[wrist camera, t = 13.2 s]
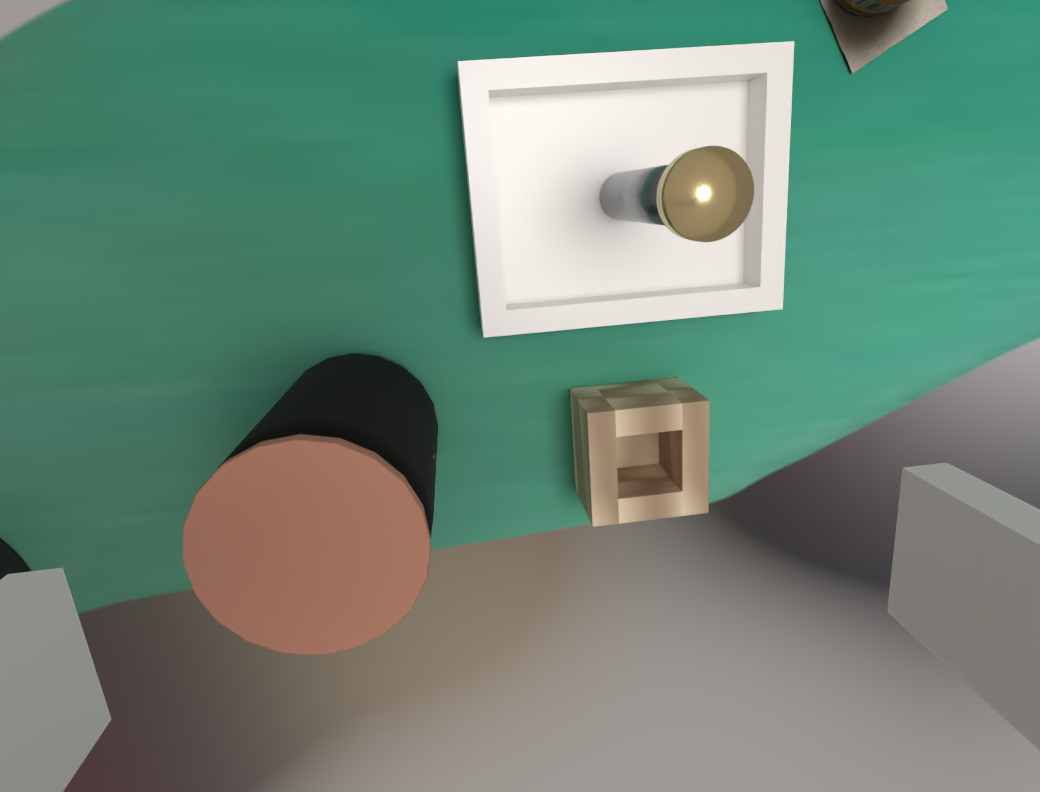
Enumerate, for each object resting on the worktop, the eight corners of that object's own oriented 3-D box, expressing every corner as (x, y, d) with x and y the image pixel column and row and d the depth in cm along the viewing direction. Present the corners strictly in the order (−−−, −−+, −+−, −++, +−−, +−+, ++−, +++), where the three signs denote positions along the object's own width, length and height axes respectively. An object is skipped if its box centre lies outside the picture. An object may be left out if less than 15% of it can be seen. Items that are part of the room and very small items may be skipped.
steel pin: (592, 229, 42) (664, 245, 28) (590, 165, 41) (665, 148, 27) (651, 225, 42) (752, 238, 28) (651, 161, 41) (756, 142, 27)
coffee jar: (354, 519, 47) (299, 697, 30) (251, 411, 44) (123, 540, 27) (468, 434, 46) (479, 566, 29) (371, 318, 43) (319, 388, 26)
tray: (481, 328, 44) (483, 337, 41) (457, 74, 39) (457, 61, 36) (758, 301, 46) (782, 309, 42) (765, 55, 41) (794, 41, 38)
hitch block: (575, 489, 48) (592, 526, 42) (570, 388, 46) (587, 413, 40) (677, 477, 49) (708, 512, 43) (677, 377, 46) (709, 400, 41)
